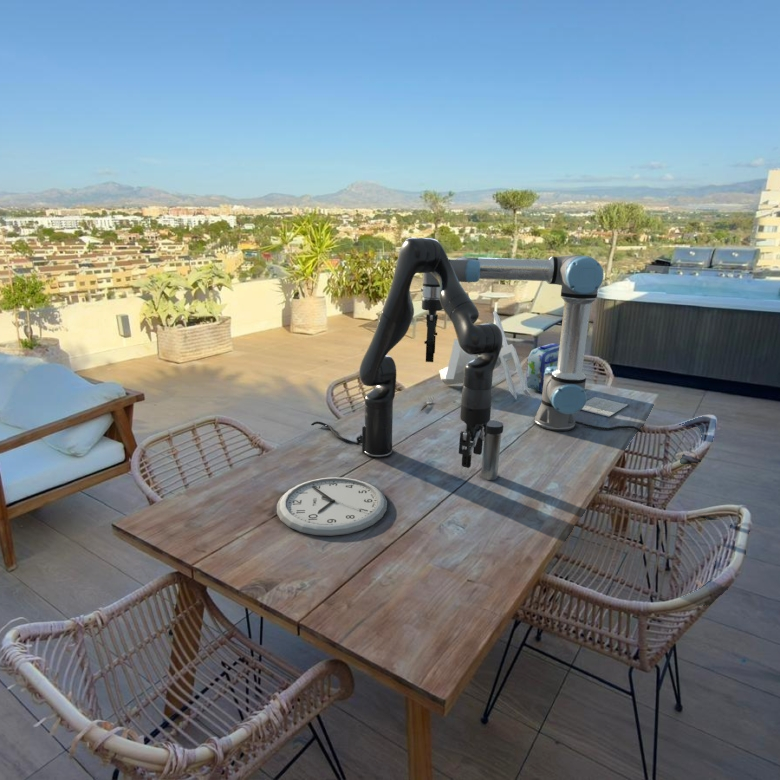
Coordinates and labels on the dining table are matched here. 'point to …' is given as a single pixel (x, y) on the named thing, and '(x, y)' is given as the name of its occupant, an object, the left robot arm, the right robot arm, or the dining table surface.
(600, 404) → the invitation card
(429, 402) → the fork
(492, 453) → the thermos
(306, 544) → the dining table surface
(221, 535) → the dining table surface
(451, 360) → the white plastic object
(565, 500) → the dining table surface
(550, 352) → the lunch box
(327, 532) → the wall clock
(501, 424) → the lid
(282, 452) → the dining table surface
